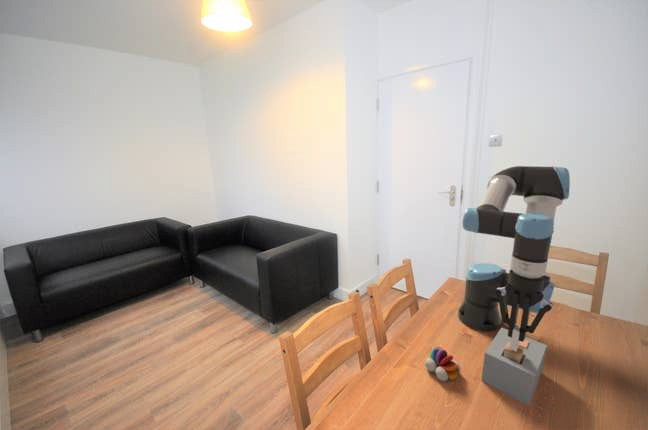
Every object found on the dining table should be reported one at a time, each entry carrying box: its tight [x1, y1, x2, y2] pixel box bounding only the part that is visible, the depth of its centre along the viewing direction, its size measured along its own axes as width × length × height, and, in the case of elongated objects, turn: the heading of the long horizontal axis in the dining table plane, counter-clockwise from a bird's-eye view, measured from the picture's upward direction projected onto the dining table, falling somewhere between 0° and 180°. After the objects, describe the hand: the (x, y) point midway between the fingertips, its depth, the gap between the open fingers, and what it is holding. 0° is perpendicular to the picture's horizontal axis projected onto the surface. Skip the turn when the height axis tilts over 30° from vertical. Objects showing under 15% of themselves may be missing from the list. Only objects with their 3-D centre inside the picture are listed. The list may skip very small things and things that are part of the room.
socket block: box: [480, 326, 548, 407], centre depth 83 cm, size 12×16×10 cm
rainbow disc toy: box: [424, 348, 462, 382], centre depth 87 cm, size 8×10×7 cm
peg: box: [503, 342, 524, 364], centre depth 80 cm, size 4×4×9 cm
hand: (514, 348), depth 79 cm, fingers closed
